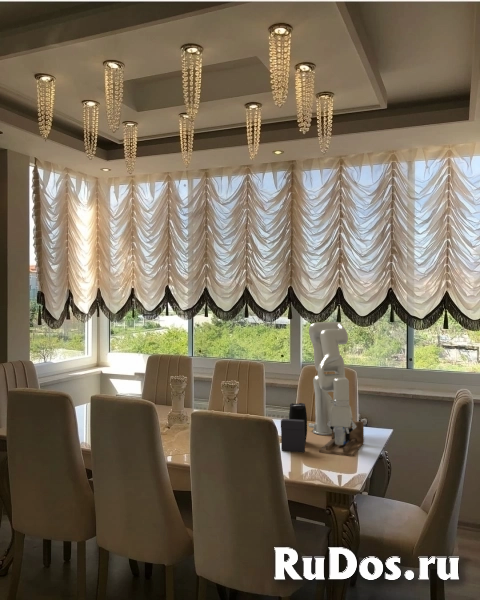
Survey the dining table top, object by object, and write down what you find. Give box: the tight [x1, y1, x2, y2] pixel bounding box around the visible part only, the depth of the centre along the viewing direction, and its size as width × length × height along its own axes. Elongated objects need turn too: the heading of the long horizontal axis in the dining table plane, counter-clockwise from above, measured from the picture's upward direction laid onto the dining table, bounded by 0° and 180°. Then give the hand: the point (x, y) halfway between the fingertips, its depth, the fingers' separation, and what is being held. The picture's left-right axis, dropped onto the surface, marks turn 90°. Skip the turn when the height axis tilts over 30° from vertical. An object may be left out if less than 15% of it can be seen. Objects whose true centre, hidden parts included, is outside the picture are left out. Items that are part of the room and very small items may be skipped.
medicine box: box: [335, 426, 349, 445], centre depth 259 cm, size 8×4×9 cm, turn 148°
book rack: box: [318, 420, 365, 457], centre depth 259 cm, size 16×22×11 cm
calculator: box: [280, 418, 306, 454], centre depth 255 cm, size 11×4×15 cm, turn 71°
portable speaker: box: [288, 402, 308, 444], centre depth 270 cm, size 9×9×20 cm
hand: (341, 440), depth 259 cm, fingers closed on medicine box, 4 cm apart
